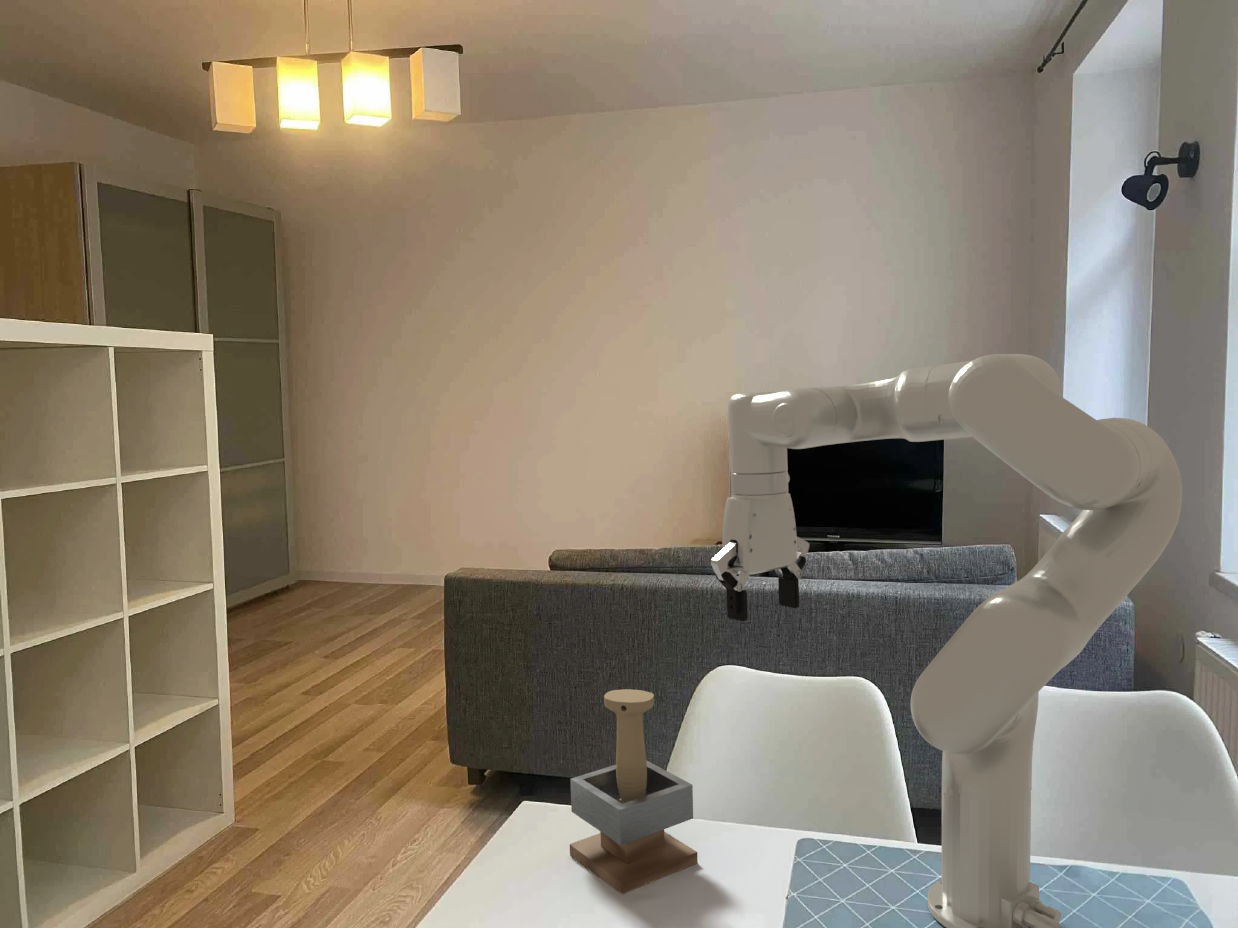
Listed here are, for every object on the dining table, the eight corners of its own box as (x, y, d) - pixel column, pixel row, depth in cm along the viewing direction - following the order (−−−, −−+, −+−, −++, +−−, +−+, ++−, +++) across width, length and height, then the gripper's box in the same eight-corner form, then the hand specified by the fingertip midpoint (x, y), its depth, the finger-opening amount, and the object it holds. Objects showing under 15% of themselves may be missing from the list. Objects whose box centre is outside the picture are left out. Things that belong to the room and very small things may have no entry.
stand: (697, 862, 121) (696, 818, 120) (621, 893, 114) (620, 846, 114) (642, 827, 131) (641, 786, 130) (569, 854, 124) (568, 811, 124)
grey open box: (693, 818, 121) (692, 784, 120) (620, 845, 114) (619, 809, 114) (641, 788, 130) (640, 756, 130) (571, 811, 123) (570, 778, 123)
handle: (651, 818, 119) (647, 703, 117) (603, 813, 121) (599, 700, 119) (661, 801, 123) (657, 691, 122) (614, 796, 125) (610, 687, 124)
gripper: (783, 478, 132) (787, 597, 133) (691, 490, 121) (696, 619, 123) (825, 480, 126) (829, 605, 127) (731, 493, 115) (736, 629, 117)
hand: (763, 612), depth 125 cm, fingers open, 9 cm apart
